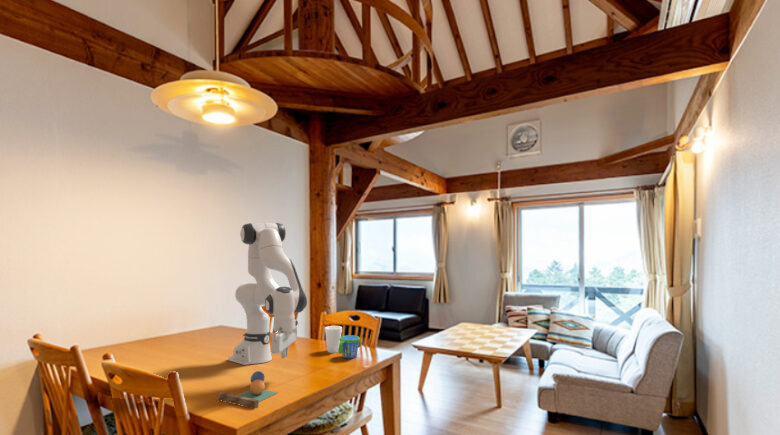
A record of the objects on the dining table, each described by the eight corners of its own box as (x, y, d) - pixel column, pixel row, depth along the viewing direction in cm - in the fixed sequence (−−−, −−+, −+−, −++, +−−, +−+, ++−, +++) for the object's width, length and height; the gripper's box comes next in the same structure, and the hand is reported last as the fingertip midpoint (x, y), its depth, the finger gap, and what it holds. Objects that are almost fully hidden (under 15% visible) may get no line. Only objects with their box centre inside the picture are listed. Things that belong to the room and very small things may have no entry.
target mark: (231, 398, 150) (231, 398, 150) (254, 388, 161) (254, 387, 161) (255, 403, 145) (255, 403, 145) (277, 393, 156) (277, 392, 156)
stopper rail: (218, 400, 148) (219, 393, 148) (222, 399, 149) (222, 392, 150) (255, 408, 141) (255, 401, 141) (258, 407, 142) (258, 400, 142)
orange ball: (259, 385, 159) (250, 396, 155) (254, 375, 157) (244, 386, 152) (269, 387, 156) (260, 399, 152) (264, 377, 154) (254, 388, 150)
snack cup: (345, 362, 198) (345, 341, 198) (331, 358, 204) (331, 338, 205) (366, 355, 209) (367, 336, 210) (353, 352, 216) (353, 333, 217)
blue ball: (254, 377, 169) (265, 370, 169) (257, 389, 165) (268, 381, 165) (246, 374, 164) (257, 367, 164) (249, 386, 161) (260, 379, 161)
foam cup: (322, 353, 214) (322, 329, 215) (327, 348, 223) (328, 325, 224) (339, 353, 213) (339, 329, 214) (343, 349, 222) (344, 326, 223)
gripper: (281, 331, 159) (282, 366, 158) (299, 319, 179) (299, 350, 179) (267, 331, 159) (267, 365, 159) (286, 319, 180) (286, 349, 179)
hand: (284, 357), depth 169 cm, fingers closed
